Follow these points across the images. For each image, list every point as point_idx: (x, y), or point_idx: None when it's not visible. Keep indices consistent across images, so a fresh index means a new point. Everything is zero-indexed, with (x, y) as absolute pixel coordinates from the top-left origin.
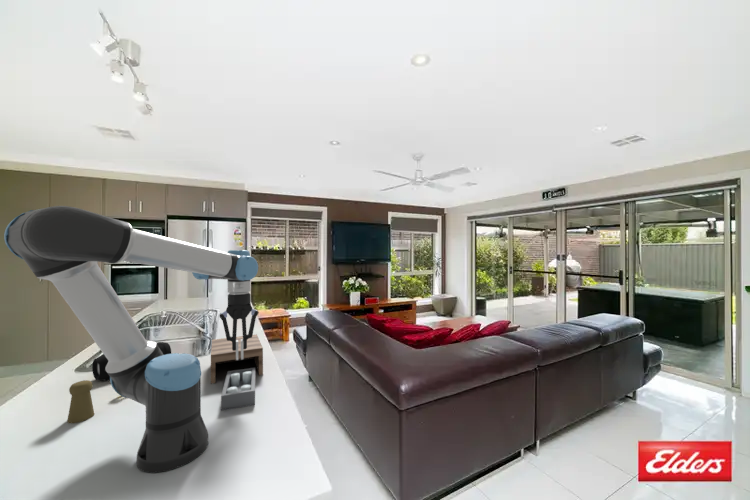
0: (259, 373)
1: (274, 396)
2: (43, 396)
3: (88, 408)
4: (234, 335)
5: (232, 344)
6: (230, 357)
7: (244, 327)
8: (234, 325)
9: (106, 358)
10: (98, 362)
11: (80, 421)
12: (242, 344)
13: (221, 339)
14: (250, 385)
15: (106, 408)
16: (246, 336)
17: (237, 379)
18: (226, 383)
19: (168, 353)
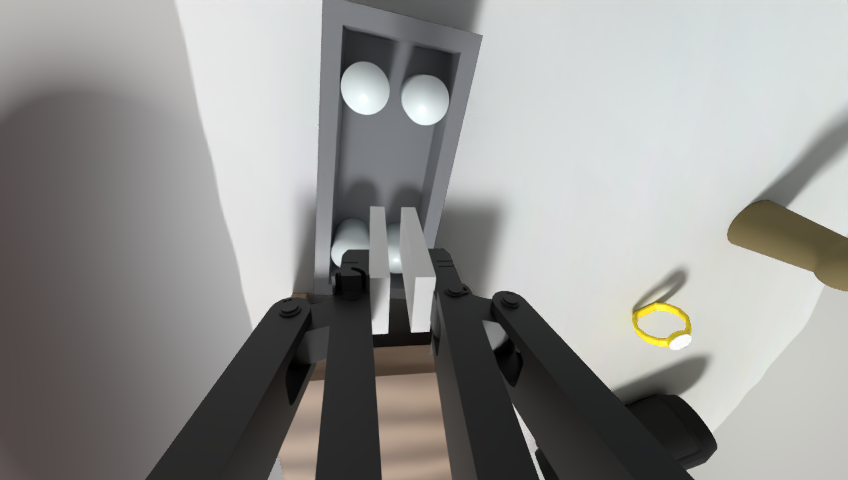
0: (304, 297)
1: (238, 48)
2: (750, 359)
3: (772, 223)
4: (464, 324)
5: (457, 277)
6: (414, 354)
7: (348, 411)
8: (507, 449)
9: (701, 445)
10: (711, 433)
11: (762, 201)
12: (377, 259)
13: None
14: (342, 91)
15: (700, 250)
16: (334, 310)
17: (390, 236)
18: (441, 178)
19: (548, 466)
